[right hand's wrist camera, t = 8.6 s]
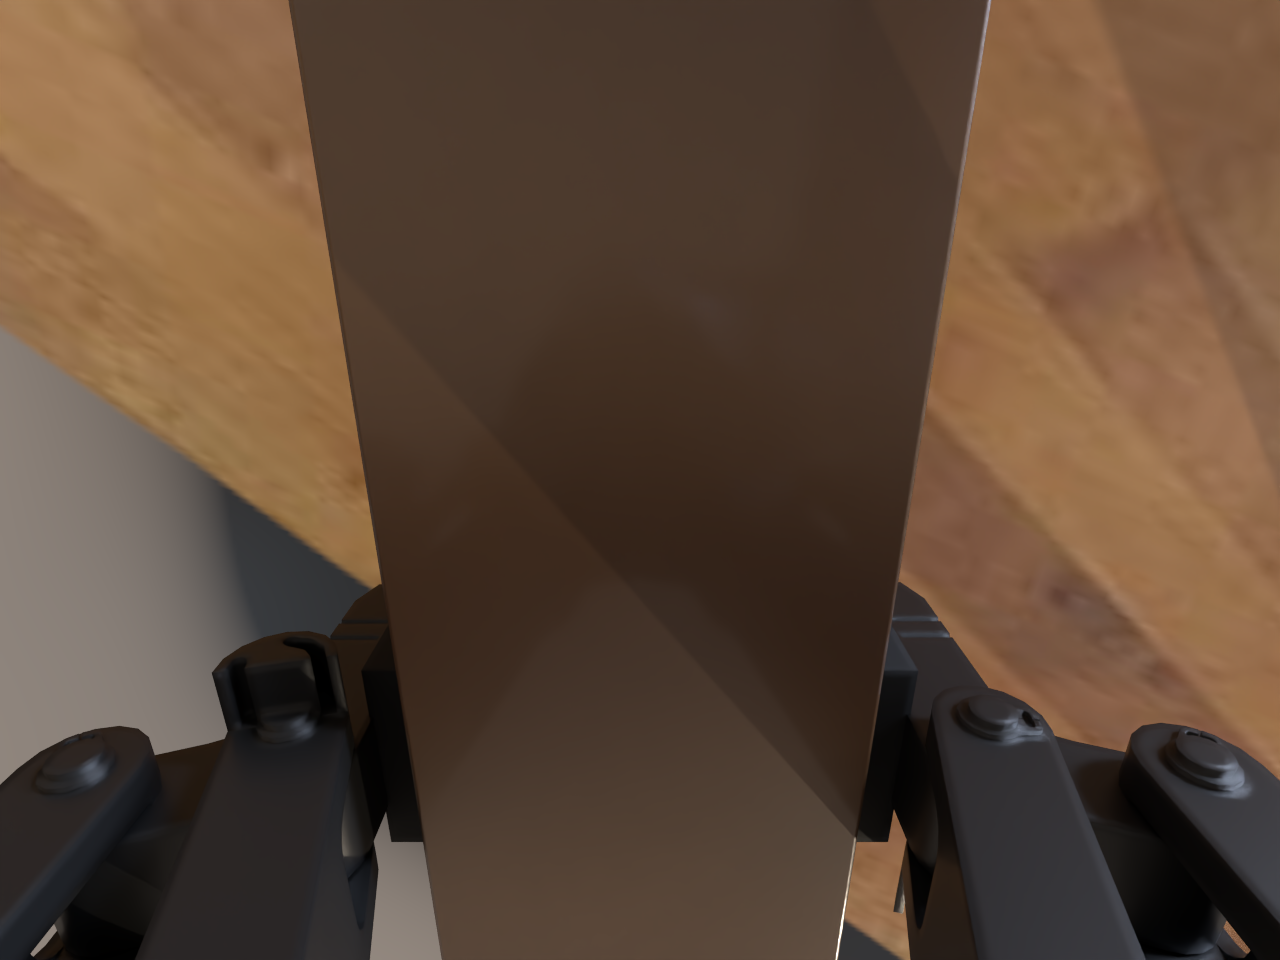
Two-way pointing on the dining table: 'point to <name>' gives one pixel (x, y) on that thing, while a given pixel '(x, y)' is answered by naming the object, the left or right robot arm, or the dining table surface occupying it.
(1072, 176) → the dining table surface
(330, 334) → the dining table surface
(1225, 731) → the dining table surface
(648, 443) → the bar
